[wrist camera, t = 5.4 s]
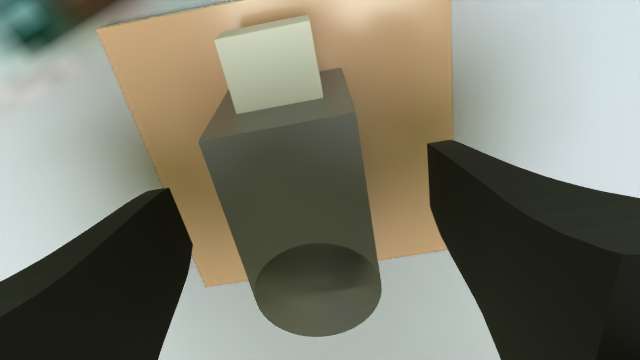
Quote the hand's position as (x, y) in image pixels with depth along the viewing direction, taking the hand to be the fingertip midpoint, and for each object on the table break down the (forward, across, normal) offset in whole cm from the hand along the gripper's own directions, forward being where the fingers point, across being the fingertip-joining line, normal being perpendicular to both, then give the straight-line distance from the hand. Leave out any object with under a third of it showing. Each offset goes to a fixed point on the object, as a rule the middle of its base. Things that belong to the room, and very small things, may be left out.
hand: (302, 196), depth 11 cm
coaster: (+3, 0, 0) cm, 3 cm away
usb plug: (+3, 0, 0) cm, 3 cm away
